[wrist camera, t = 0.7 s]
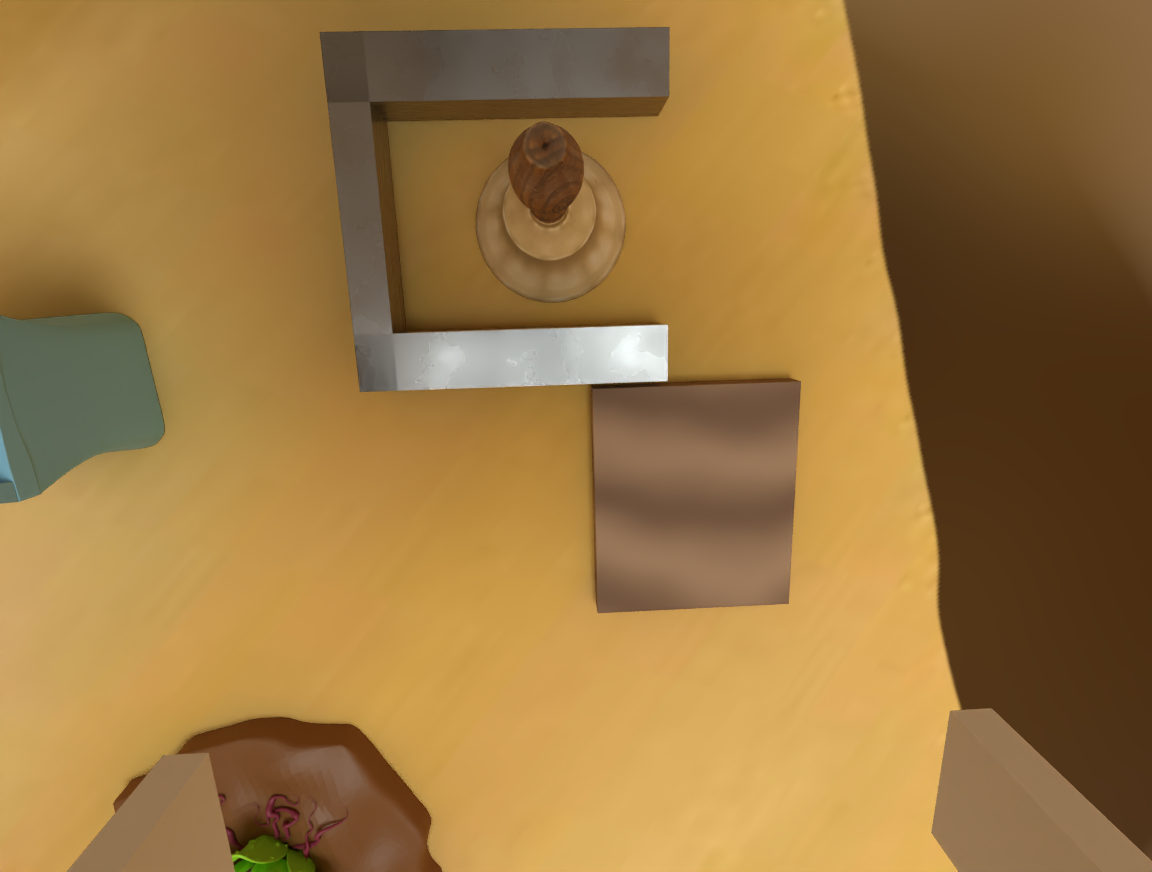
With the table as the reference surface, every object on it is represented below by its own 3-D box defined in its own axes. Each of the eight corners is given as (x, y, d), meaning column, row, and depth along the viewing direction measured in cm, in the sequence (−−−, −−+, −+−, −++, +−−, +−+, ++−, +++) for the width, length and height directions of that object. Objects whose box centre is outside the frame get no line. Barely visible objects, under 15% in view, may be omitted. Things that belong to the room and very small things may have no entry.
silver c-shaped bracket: (342, 58, 30) (319, 32, 27) (658, 53, 31) (669, 27, 28) (376, 384, 34) (360, 392, 31) (657, 374, 34) (667, 381, 32)
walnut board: (590, 385, 34) (592, 389, 33) (790, 378, 35) (801, 381, 33) (595, 601, 38) (597, 613, 36) (779, 592, 38) (788, 603, 36)
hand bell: (450, 257, 33) (359, 213, 17) (518, 115, 31) (485, -75, 16) (581, 328, 34) (606, 347, 18) (651, 194, 32) (745, 90, 17)
